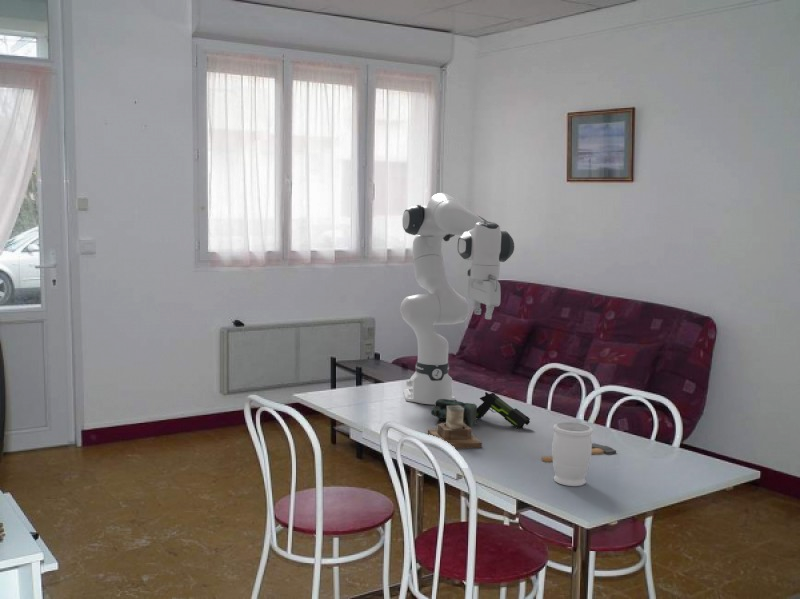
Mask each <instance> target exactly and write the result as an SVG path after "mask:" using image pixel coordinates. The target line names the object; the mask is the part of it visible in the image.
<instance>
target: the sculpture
mask: <svg viewBox="0 0 800 599" xmlns="http://www.w3.org/2000/svg"><path fill="white" fill-rule="evenodd" d="M453 405H460V406H461V407H462V408H464V413H463V423H465V424H466V425H467V426H469V427H470V426H471V427H472V426H474V425H476V424H477V418H476V414H477V407H478V405H477V404H476V403H470V402H463V401H460V400H459V401H458V400H448V399H439V400H437V401H436V403H435V404H434V407H432V409H431V412H430V413H431V414H430V415H432V416H433V417H436V418H437V419H438V420H440V421H444V420H445V421H446V417H447V406H453Z"/></svg>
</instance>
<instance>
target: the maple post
mask: <svg viewBox="0 0 800 599" xmlns="http://www.w3.org/2000/svg"><path fill="white" fill-rule="evenodd" d="M463 413H464V408H462V407H461V406H460V405H453V406H447V417H446V420H445V423H446V427H447V428H448V429H463V423H464V422H463Z"/></svg>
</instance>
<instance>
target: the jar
mask: <svg viewBox="0 0 800 599" xmlns="http://www.w3.org/2000/svg"><path fill="white" fill-rule="evenodd" d="M552 428H553V430H554V433H553V438H552V442H551V457H553V462H552V467H553V469H554V473H555V475H554V477H553V480H554V482H556V483H558V484H560V485H562V486H566V487H581V486H584V485H585V484H586V481H587V480H586V479H585V476H586V474H587V473H588V470H589V466H590V462H591V459H592V458H591V457H592V455H591V453H592V434H593V433H594V428H593V427H592V426H590V425H588V424H584V423H581V422H574V421H573V422H571V421H560V422H556V423H554V424H553V427H552Z"/></svg>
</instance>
